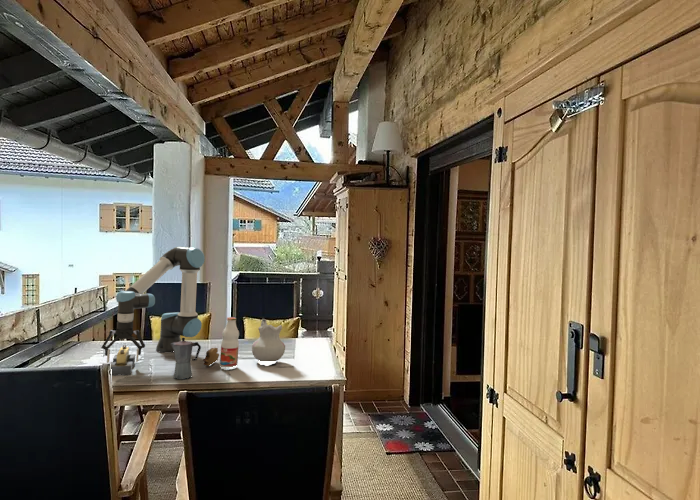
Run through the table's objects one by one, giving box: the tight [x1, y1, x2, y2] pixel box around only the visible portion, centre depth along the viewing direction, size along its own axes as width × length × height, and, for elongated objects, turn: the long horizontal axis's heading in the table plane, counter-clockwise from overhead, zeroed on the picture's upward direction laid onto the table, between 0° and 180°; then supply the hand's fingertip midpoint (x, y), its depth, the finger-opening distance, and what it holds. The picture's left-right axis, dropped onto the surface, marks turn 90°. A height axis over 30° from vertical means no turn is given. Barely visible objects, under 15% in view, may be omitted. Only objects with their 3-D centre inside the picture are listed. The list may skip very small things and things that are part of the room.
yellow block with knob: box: [116, 344, 130, 366], centre depth 228 cm, size 15×4×10 cm, turn 21°
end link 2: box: [109, 361, 133, 377], centre depth 221 cm, size 8×10×4 cm
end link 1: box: [112, 353, 136, 367], centre depth 235 cm, size 8×10×4 cm
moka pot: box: [170, 337, 202, 380], centre depth 221 cm, size 10×15×20 cm, turn 95°
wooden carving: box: [202, 347, 220, 367], centre depth 244 cm, size 16×5×10 cm, turn 178°
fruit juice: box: [219, 316, 240, 367], centre depth 242 cm, size 9×9×28 cm
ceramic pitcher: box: [251, 318, 286, 361], centre depth 257 cm, size 22×20×25 cm
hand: (122, 361), depth 228 cm, fingers open, 13 cm apart
